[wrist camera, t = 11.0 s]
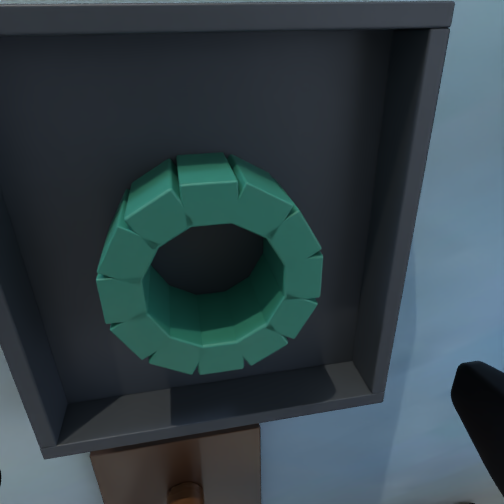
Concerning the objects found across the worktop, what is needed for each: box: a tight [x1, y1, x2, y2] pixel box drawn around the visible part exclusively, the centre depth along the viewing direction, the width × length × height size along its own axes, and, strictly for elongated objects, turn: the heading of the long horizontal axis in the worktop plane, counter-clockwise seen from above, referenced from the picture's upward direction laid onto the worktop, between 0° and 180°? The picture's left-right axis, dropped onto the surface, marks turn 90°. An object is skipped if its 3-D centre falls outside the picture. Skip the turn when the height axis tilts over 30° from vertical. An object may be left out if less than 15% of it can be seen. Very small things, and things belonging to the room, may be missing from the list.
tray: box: [0, 1, 455, 459], centre depth 14 cm, size 14×13×2 cm
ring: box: [96, 152, 323, 375], centre depth 13 cm, size 6×6×3 cm
